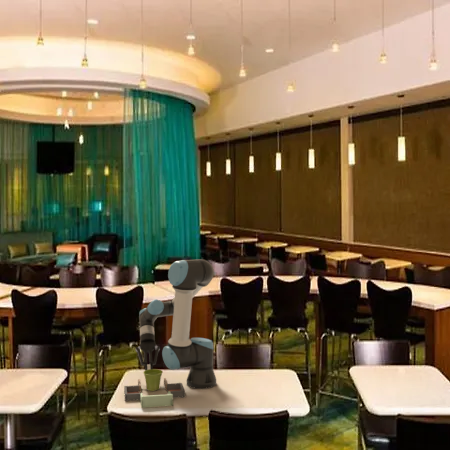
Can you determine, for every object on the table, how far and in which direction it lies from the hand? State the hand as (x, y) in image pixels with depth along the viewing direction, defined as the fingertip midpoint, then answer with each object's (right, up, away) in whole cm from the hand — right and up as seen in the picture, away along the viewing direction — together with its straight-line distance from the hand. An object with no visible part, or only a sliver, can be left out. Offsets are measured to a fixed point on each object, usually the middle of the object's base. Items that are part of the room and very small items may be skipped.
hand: (149, 377), depth 280 cm
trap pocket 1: (-6, -5, -14) cm, 16 cm away
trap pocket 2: (+14, -5, -10) cm, 18 cm away
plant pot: (+2, -5, -4) cm, 7 cm away
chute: (+2, -5, -2) cm, 6 cm away
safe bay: (+6, -6, -22) cm, 23 cm away
